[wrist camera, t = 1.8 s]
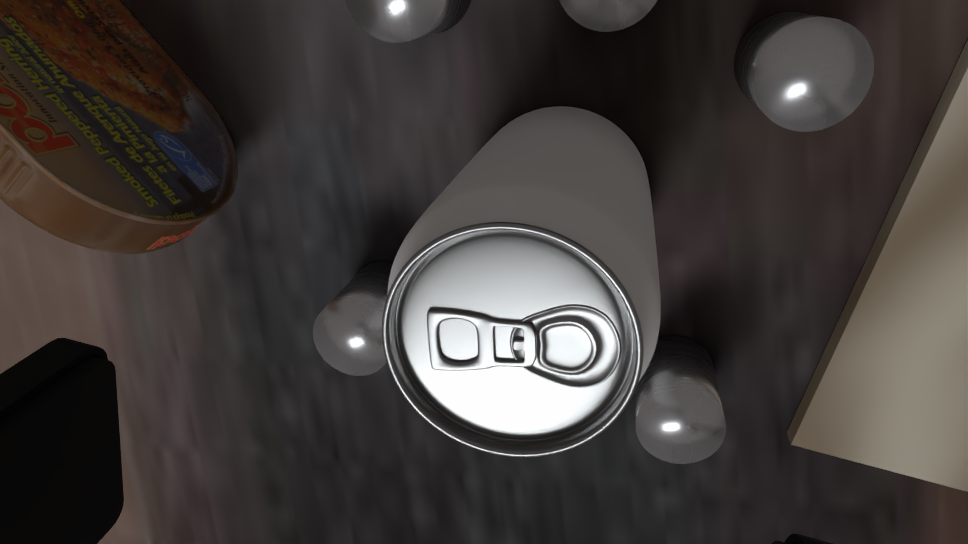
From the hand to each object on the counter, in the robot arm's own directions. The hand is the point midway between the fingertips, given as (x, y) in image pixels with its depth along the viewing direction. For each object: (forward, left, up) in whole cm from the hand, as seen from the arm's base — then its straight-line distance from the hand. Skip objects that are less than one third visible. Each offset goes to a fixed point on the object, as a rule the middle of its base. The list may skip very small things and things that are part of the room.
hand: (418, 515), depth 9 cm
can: (0, 0, -18) cm, 18 cm away
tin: (+18, -1, -18) cm, 25 cm away
